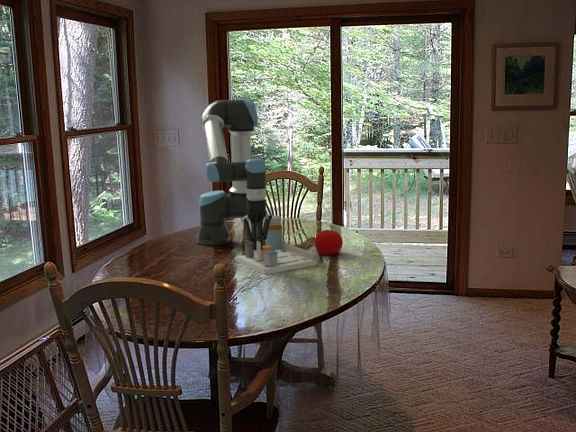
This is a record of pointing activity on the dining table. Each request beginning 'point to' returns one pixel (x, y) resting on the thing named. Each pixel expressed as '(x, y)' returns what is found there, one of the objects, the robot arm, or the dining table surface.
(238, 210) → the robot arm
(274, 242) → the bottle
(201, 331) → the dining table surface
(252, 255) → the slider left
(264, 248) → the slider mid
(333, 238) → the tomato
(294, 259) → the white base board
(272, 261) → the slider right
